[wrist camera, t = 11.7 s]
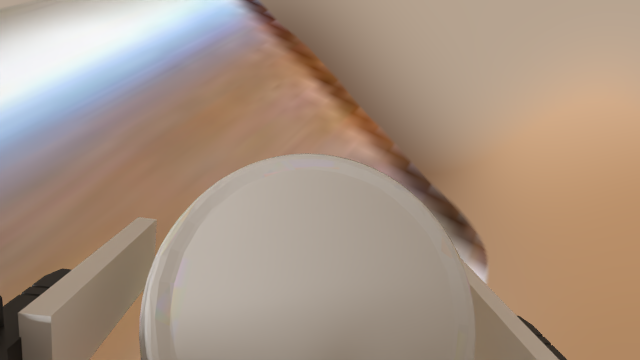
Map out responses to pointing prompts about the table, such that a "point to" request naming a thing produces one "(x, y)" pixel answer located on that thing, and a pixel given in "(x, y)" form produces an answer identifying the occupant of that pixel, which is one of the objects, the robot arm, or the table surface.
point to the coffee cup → (307, 271)
